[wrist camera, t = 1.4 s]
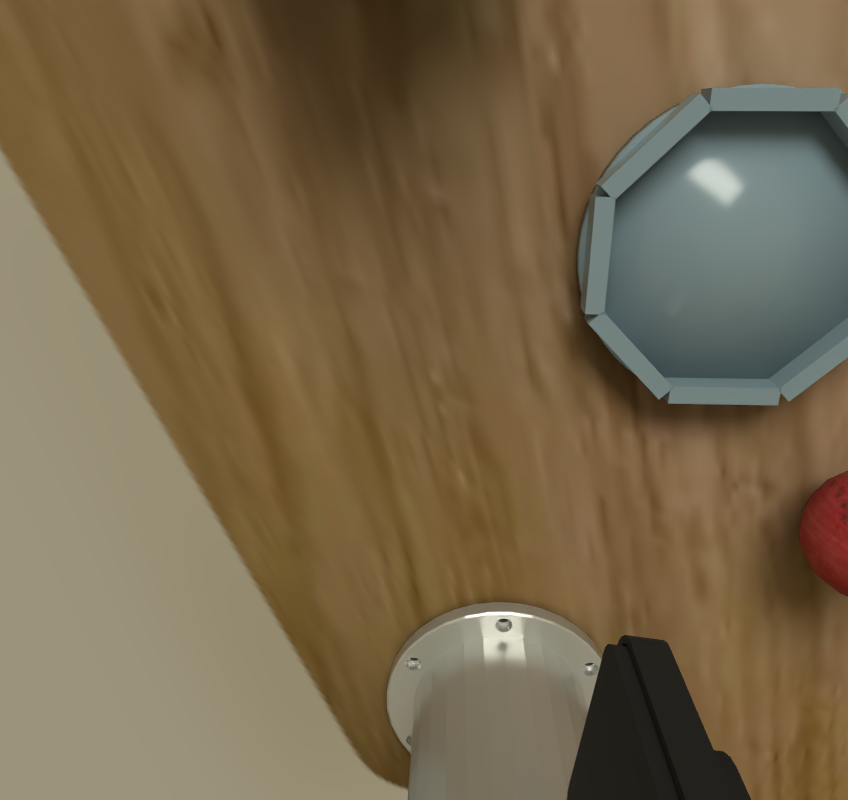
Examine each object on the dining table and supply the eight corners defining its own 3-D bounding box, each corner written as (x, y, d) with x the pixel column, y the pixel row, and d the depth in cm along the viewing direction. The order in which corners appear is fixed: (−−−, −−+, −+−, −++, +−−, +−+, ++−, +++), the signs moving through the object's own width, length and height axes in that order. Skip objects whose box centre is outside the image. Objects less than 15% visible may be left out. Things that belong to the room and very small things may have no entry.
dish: (848, 393, 33) (874, 411, 31) (565, 388, 33) (572, 406, 31) (921, 85, 28) (958, 82, 26) (589, 84, 29) (600, 81, 27)
